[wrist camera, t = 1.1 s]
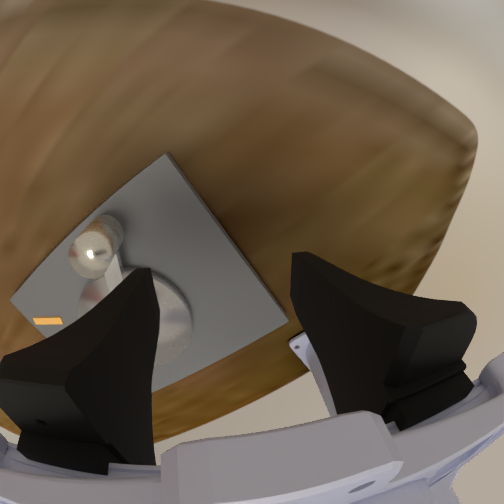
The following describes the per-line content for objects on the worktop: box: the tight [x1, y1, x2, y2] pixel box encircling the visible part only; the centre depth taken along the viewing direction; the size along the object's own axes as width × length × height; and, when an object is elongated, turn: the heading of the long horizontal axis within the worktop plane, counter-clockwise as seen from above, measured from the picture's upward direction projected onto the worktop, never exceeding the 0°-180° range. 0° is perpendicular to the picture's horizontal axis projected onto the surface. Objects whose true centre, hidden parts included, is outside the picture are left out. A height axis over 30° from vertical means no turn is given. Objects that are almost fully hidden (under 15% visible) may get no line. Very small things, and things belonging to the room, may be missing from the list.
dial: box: [68, 215, 192, 366], centre depth 18 cm, size 13×9×5 cm
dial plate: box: [10, 152, 289, 393], centre depth 21 cm, size 16×19×1 cm
